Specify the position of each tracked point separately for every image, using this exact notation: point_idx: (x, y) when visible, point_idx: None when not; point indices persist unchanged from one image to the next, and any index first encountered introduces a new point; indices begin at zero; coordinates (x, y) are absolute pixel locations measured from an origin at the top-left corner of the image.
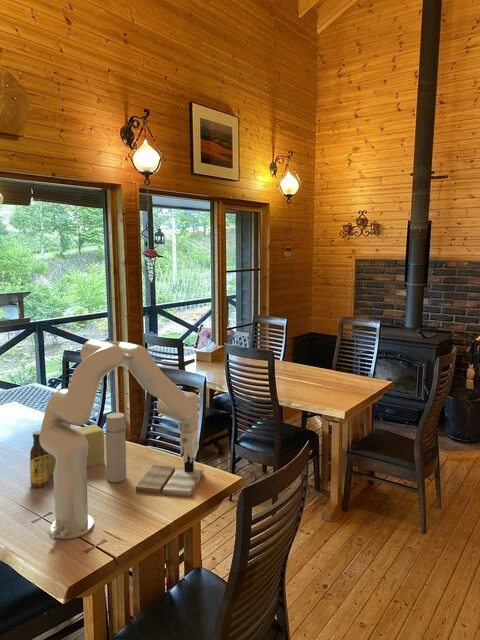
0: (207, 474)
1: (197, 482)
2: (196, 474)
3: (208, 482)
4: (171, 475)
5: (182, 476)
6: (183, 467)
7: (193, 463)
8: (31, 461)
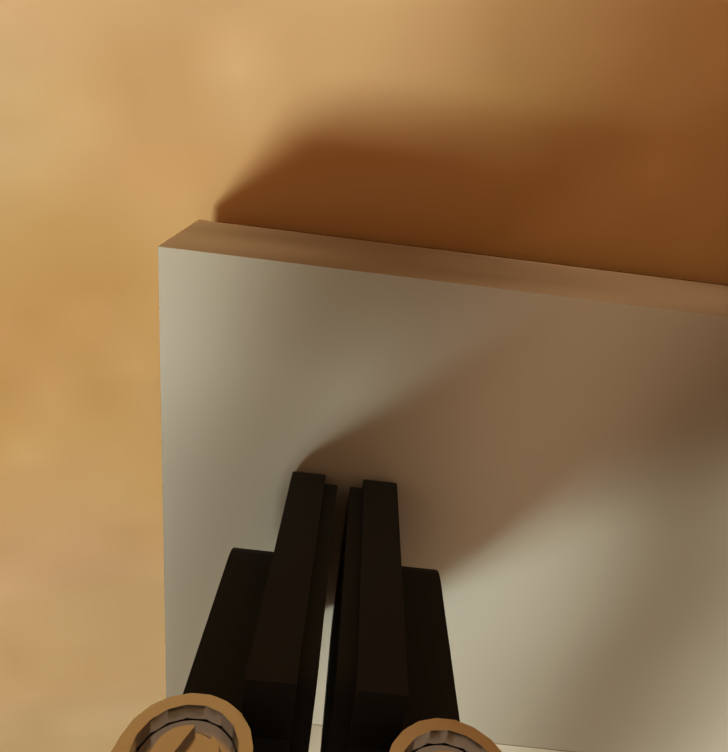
0: (200, 101)
1: (714, 290)
2: (521, 373)
3: (633, 16)
4: None
5: (592, 635)
6: (168, 663)
7: (277, 601)
8: None
